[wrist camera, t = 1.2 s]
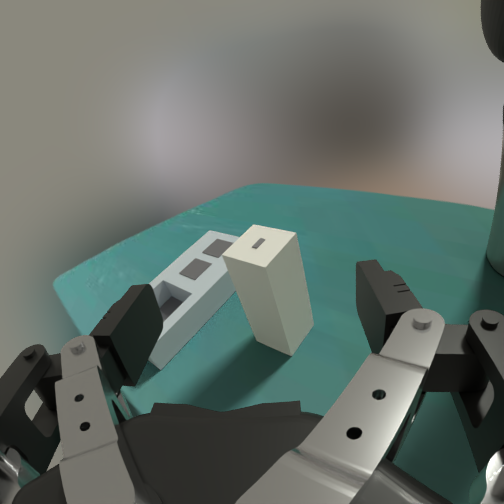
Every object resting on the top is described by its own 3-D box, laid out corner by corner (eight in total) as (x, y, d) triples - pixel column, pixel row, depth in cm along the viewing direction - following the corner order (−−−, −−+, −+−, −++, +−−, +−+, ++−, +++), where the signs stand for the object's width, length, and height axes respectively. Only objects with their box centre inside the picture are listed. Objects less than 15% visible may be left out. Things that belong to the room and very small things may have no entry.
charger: (279, 312, 35) (253, 223, 28) (313, 324, 32) (295, 231, 25) (256, 341, 33) (221, 253, 26) (291, 356, 30) (265, 266, 23)
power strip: (217, 248, 49) (208, 227, 46) (262, 261, 43) (255, 237, 41) (122, 338, 38) (106, 318, 35) (160, 370, 32) (143, 349, 30)
